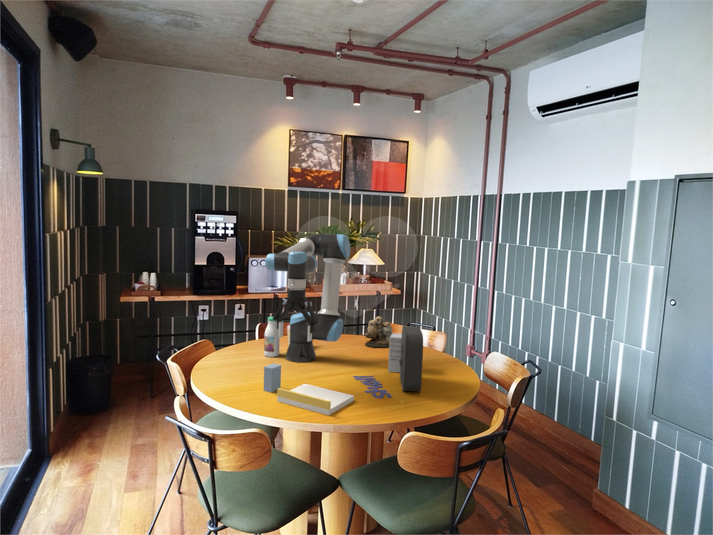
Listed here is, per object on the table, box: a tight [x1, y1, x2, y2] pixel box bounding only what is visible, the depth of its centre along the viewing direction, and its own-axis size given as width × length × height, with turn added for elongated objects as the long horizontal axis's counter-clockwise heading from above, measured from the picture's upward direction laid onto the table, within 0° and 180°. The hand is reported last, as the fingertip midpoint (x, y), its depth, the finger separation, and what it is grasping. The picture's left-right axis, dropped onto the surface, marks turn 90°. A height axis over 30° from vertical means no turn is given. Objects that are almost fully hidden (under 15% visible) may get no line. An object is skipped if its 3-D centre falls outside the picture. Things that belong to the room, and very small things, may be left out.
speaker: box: [399, 325, 424, 393], centre depth 211 cm, size 25×9×25 cm, turn 178°
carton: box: [263, 363, 282, 393], centre depth 200 cm, size 6×4×10 cm
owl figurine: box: [364, 316, 394, 349], centre depth 278 cm, size 18×12×17 cm, turn 107°
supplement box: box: [387, 332, 402, 373], centre depth 234 cm, size 10×9×17 cm
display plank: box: [276, 383, 355, 416], centre depth 190 cm, size 24×18×5 cm
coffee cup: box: [286, 324, 290, 348], centre depth 267 cm, size 9×9×12 cm
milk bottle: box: [263, 316, 281, 358], centre depth 250 cm, size 8×8×20 cm
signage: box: [352, 375, 393, 399], centre depth 209 cm, size 28×1×10 cm
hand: (294, 339), depth 203 cm, fingers open, 13 cm apart
